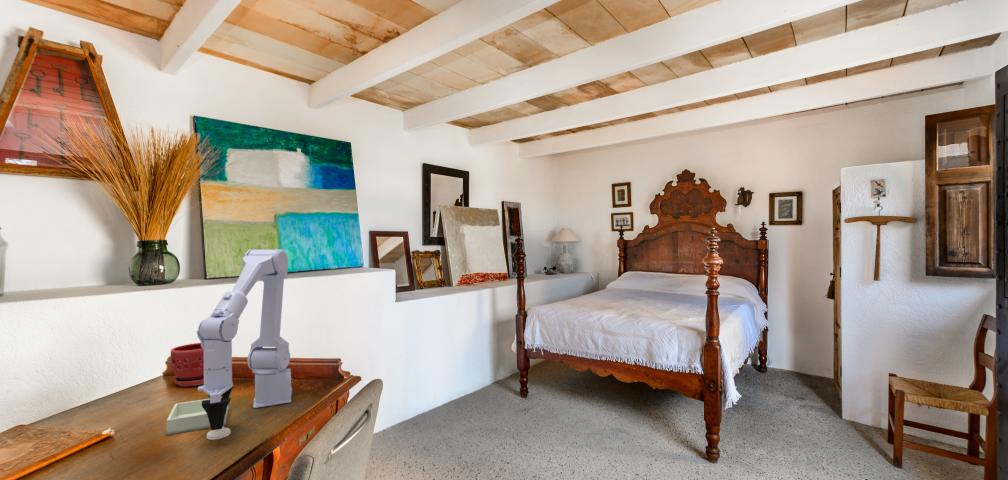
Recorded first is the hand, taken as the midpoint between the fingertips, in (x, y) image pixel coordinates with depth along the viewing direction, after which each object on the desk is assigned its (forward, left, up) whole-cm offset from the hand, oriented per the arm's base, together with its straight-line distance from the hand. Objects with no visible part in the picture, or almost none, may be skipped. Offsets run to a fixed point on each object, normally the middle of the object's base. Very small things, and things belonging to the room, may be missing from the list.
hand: (218, 422), depth 107 cm
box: (+5, -12, -3) cm, 13 cm away
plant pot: (+10, -49, -3) cm, 50 cm away
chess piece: (0, 0, -3) cm, 3 cm away
